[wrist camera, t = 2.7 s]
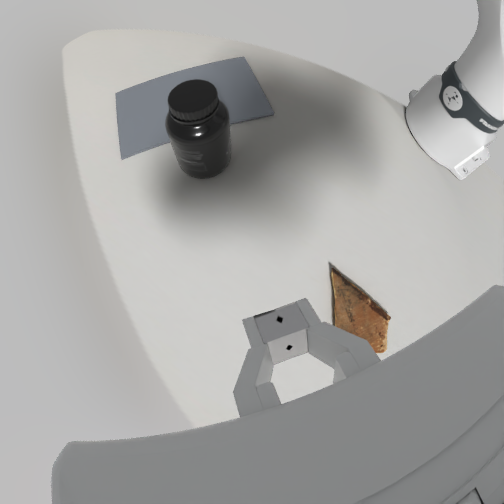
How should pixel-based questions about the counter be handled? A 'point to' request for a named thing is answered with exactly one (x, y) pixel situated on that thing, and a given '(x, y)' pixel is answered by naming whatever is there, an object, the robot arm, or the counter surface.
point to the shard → (359, 313)
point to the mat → (156, 106)
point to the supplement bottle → (198, 128)
